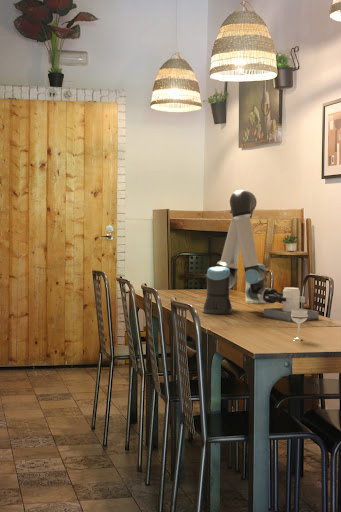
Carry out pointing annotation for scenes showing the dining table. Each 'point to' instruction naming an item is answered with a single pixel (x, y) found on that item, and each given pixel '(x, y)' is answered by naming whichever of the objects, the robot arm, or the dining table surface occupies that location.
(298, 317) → the wineglass
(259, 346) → the dining table surface
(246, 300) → the coffee can
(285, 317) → the bin
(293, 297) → the beverage can
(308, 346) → the dining table surface
